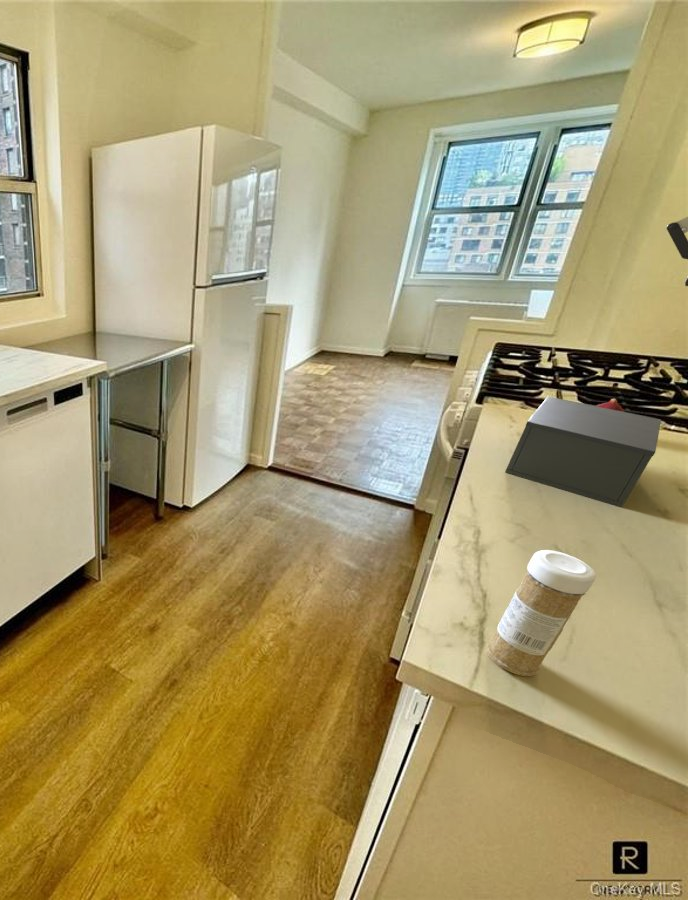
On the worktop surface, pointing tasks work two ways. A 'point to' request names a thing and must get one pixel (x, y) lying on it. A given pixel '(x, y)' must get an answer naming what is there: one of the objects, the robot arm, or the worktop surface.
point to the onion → (611, 405)
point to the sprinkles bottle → (539, 611)
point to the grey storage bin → (577, 465)
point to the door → (598, 425)
